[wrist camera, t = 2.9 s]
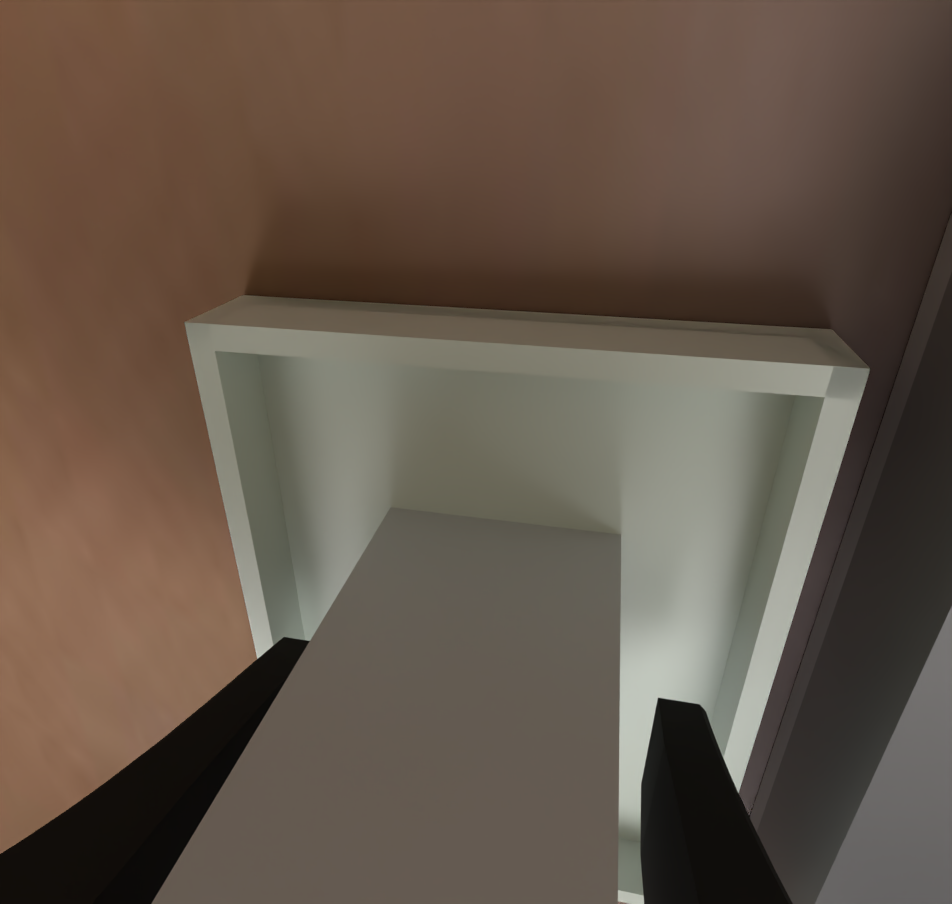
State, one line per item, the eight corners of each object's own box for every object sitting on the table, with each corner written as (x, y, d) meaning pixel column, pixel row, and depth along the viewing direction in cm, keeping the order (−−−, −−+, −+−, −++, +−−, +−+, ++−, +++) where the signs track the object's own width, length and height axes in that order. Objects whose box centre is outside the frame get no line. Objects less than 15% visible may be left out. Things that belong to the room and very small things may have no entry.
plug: (404, 704, 14) (225, 1181, 7) (390, 507, 11) (112, 968, 5) (594, 737, 13) (567, 1295, 7) (620, 534, 10) (615, 1106, 4)
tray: (323, 768, 16) (294, 830, 15) (243, 295, 10) (183, 322, 9) (691, 841, 14) (699, 919, 13) (831, 329, 9) (869, 368, 7)
